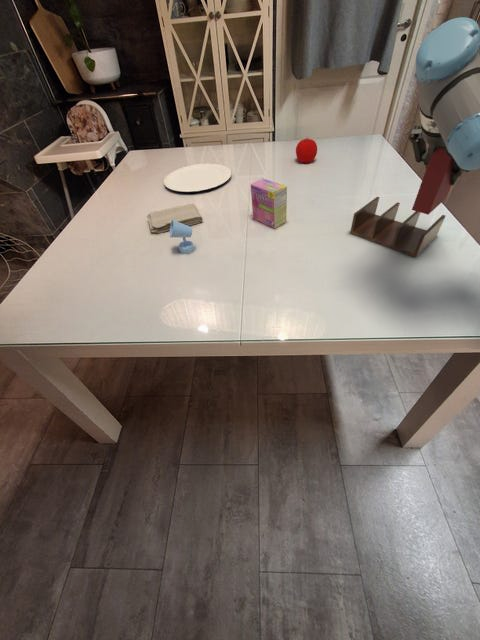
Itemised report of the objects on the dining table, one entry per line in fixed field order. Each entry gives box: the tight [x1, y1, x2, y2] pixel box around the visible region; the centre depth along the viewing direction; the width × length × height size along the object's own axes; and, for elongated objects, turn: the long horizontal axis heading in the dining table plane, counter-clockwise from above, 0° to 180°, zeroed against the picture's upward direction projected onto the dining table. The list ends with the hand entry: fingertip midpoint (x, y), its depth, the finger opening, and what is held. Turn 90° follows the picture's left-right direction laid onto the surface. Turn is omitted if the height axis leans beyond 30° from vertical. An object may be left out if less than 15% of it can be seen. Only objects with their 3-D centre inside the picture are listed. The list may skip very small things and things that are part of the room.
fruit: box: [295, 136, 318, 164], centre depth 128 cm, size 9×9×10 cm
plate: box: [163, 162, 232, 193], centre depth 127 cm, size 29×29×2 cm
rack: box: [349, 196, 446, 258], centre depth 85 cm, size 20×13×6 cm, turn 44°
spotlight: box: [169, 220, 195, 255], centre depth 88 cm, size 5×10×7 cm
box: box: [250, 178, 288, 229], centre depth 95 cm, size 10×6×12 cm, turn 42°
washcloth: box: [146, 203, 203, 234], centre depth 103 cm, size 12×18×3 cm, turn 109°
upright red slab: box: [411, 148, 454, 215], centre depth 69 cm, size 4×11×15 cm, turn 135°
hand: (444, 177), depth 73 cm, fingers closed on upright red slab, 4 cm apart
